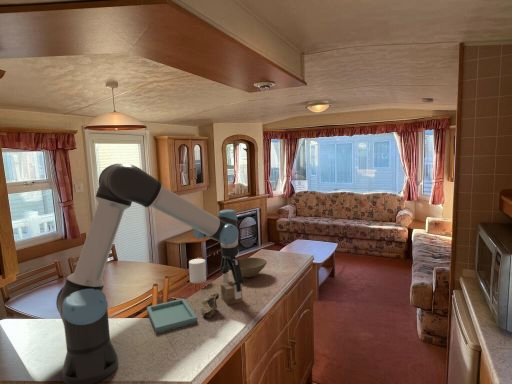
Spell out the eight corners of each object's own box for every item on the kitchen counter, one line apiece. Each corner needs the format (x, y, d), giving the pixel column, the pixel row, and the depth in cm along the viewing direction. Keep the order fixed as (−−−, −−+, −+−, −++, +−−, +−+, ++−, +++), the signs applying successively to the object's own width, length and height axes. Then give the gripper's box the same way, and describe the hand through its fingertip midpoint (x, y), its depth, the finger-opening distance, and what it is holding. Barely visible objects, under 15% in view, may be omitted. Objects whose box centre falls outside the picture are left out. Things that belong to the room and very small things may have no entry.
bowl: (233, 270, 183) (233, 256, 182) (267, 270, 183) (266, 256, 182) (229, 283, 165) (229, 268, 164) (267, 283, 164) (266, 267, 163)
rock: (226, 313, 131) (223, 290, 138) (211, 310, 127) (208, 287, 134) (214, 323, 135) (211, 301, 142) (199, 321, 131) (197, 298, 138)
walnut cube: (242, 301, 145) (241, 285, 144) (227, 305, 142) (226, 289, 141) (235, 295, 151) (235, 280, 150) (221, 298, 148) (220, 283, 147)
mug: (192, 264, 164) (184, 258, 174) (193, 284, 165) (185, 277, 175) (207, 261, 168) (198, 255, 178) (208, 281, 169) (199, 274, 179)
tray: (197, 322, 128) (197, 317, 127) (156, 333, 121) (155, 327, 120) (183, 303, 145) (183, 298, 144) (147, 311, 138) (146, 306, 137)
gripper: (249, 251, 134) (252, 301, 137) (226, 238, 157) (228, 281, 159) (232, 254, 131) (235, 305, 134) (211, 240, 153) (214, 284, 156)
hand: (231, 292), depth 146 cm, fingers open, 13 cm apart
